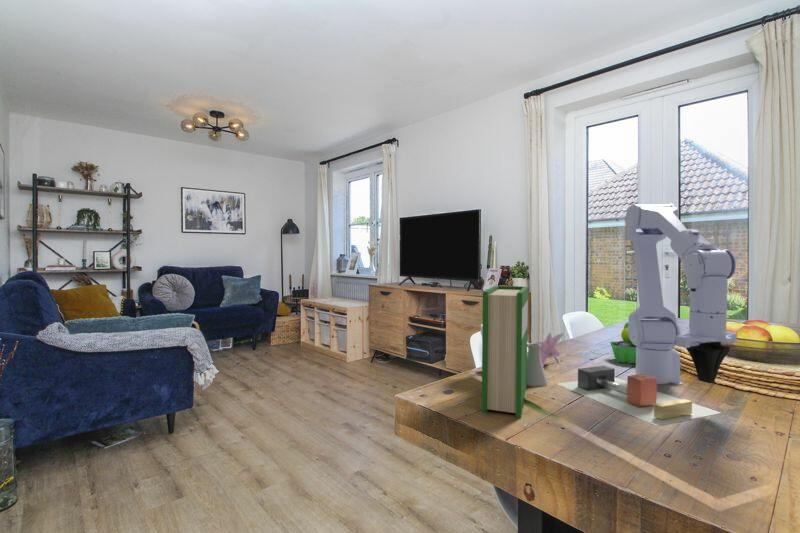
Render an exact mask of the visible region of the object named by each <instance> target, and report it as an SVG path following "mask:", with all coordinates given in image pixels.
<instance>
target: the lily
mask: <svg viewBox="0 0 800 533" xmlns="http://www.w3.org/2000/svg"><path fill="white" fill-rule="evenodd" d="M563 336H564V333H559V334H556V335H554V336H552V332H549V333H548V334H547V336H546V337H545V339H544V341H537V342H534V343H535V344H540V345H541V348H540V357H541V362H542V365H543V367H544V366H545V364H546V363H547V361H548V359H552V358H554V359H555V360H556V363H557V364H559V361H558V359H557V358H558V357H560V356H561V354H560V353H559V350H558V349H557V348H556V346H557V344H558V342H559V341H560V340H561V338H562V337H563Z"/></svg>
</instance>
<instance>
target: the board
mask: <svg viewBox="0 0 800 533" xmlns="http://www.w3.org/2000/svg"><path fill="white" fill-rule="evenodd" d="M614 383H616V384H619V385H622V386H625V387H627V380H624V379H621V378H618V377H616V376H615V378H614ZM556 385H557V386H560V387H562V388H565V389H567V390H569V391H572V392H575V393H577V394H578V395H581V396H583V397H587V398H589V399H591V400H593V401H596V402H598V403H601V404H603V405H605V406H608V407H610V408H612V409H615V410H617V411H619V412H623V413H625V414H627V415H629V416H632V417H634V418H636V419H639V420H640V421H644V422H646V423H648V424H651V425H653V426H655V427H659V426H665V425H670V424H674V423H678V422H679V423H680V422H683V421H690V420H693V419H700V418H704V417H710V416H715V415H719V414H722V412H720V411H717V410H714V409H711V408H708V407H705V406H702V405H699V404H696V403H694V402H692V414H689V415H684V416H678V417H673V418H668V419H663V420H661V419H659V418H656V417H654V405H648V406H642V407H640V406H637V405H634V404H632V403H629V402H627V395H625V394H622V393H619V392H617V391H614V390H611V389H609V388H605V389H598V390H591V391H587V390H584V389H582V388H579V387H578V380H575V381H567V382H560V383H558V382H557V383H556ZM680 399H681V398H678V397H675V396H672V395H670V394H667V393H663V392H660V391H657V397H656V403H662V402H668V401H674V400H680Z"/></svg>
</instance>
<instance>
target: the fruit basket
mask: <svg viewBox="0 0 800 533" xmlns="http://www.w3.org/2000/svg"><path fill="white" fill-rule="evenodd" d="M628 325H629V321H628V322H626V323H624V326H623V329H622V330H621V334H620V336H621V339H622V340H619V341H610V342H609V343H610V346H611V350H612V352H613V356H614V359H615V358H616V359H615V360H616V361H617V362H618V363H619V362H627V363H626V364H630V363H636V345H634V344H633V343H632V342H631V341H630V339H629V336H628Z"/></svg>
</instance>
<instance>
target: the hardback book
mask: <svg viewBox="0 0 800 533" xmlns="http://www.w3.org/2000/svg"><path fill="white" fill-rule="evenodd" d="M528 299H529V286H519V285H517V286H516V285H515V286H513V285H493V286H492V287H490V288H488V289H486V290H483V291H482V324H483V329H482V335H481V343H482V344H481V346H482V349H481V350H482V351H481V356H482V357H481V414H488V412H489V410H492V411H498V412H505V413H513V414H515V419H522V414H523V410H524V405H525V400H526V390H527V386H528V385H527V357H528V347H527V344H528V324H529V323H528V318H529V317H528V316H529V314H528V313H529V311H528V310H529V309H528V308H529V307H528V305H529V302H528V301H529V300H528Z"/></svg>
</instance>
